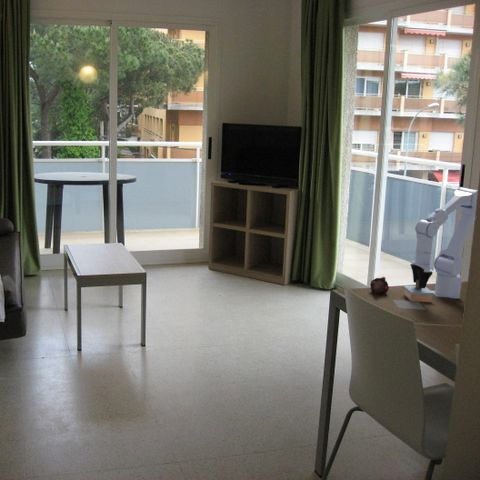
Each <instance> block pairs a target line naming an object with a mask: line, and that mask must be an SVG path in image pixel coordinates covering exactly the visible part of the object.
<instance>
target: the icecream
mask: <svg viewBox="0 0 480 480" xmlns="http://www.w3.org/2000/svg"><path fill="white" fill-rule="evenodd" d="M369 284H370V286H369V287H370V290H371V292H373V293H375V294H380V295H385V294H386V293H387V292H388V291H389V289H390V288H389V287H390V286H389V283H388V281H387V280H386V277H385V276H382V277H376V278H374V279H372V280H371V281H370V283H369Z"/></svg>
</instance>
